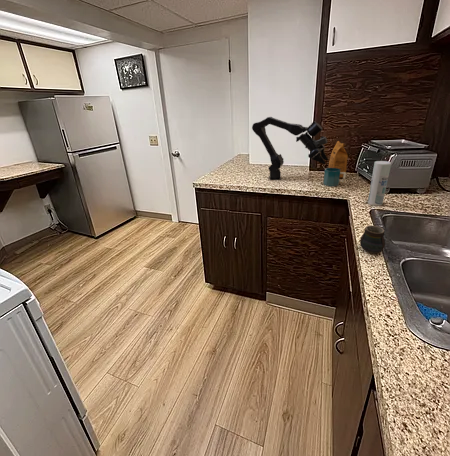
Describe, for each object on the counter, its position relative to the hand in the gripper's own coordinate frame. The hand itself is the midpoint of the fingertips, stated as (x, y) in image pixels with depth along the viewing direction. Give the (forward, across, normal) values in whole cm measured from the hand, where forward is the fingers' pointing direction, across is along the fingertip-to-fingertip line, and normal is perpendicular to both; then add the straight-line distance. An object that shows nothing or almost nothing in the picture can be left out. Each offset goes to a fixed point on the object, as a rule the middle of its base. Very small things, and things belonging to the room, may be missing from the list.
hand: (326, 161), depth 145 cm
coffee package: (+13, +18, +6) cm, 23 cm away
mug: (+6, 0, +6) cm, 9 cm away
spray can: (+29, -23, -10) cm, 38 cm away
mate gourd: (+28, -68, -9) cm, 74 cm away
